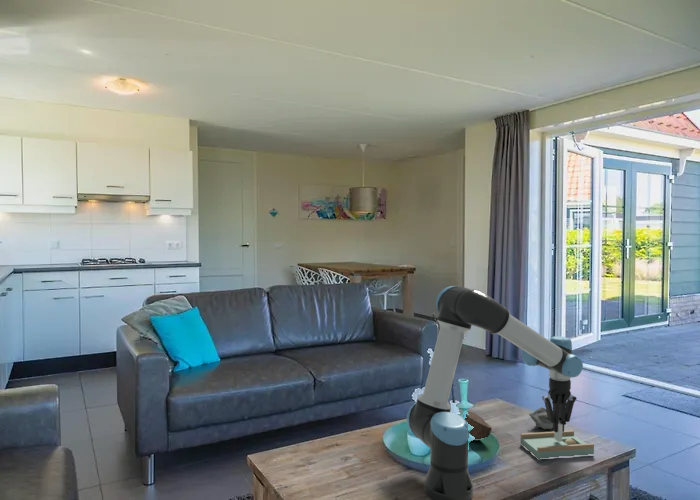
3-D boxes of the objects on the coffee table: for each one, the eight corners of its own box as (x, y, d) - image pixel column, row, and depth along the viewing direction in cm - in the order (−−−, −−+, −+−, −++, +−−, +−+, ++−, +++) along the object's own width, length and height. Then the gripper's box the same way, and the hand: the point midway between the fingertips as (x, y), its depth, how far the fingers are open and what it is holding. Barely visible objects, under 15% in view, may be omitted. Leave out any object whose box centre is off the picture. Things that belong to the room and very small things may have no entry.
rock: (497, 431, 193) (484, 421, 188) (482, 452, 192) (468, 443, 187) (476, 413, 204) (463, 404, 198) (461, 433, 203) (448, 425, 198)
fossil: (537, 433, 203) (537, 414, 203) (524, 424, 212) (525, 406, 212) (561, 431, 206) (561, 412, 205) (548, 422, 214) (548, 404, 214)
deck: (538, 460, 179) (538, 448, 179) (520, 445, 192) (520, 433, 191) (593, 456, 182) (594, 444, 182) (572, 441, 195) (572, 430, 195)
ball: (567, 450, 186) (570, 440, 186) (561, 446, 190) (564, 436, 190) (577, 452, 186) (579, 442, 186) (570, 447, 190) (573, 437, 190)
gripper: (549, 381, 181) (547, 445, 182) (581, 380, 183) (580, 443, 184) (538, 375, 189) (536, 436, 190) (569, 374, 191) (568, 435, 192)
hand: (558, 440), depth 187 cm, fingers closed
